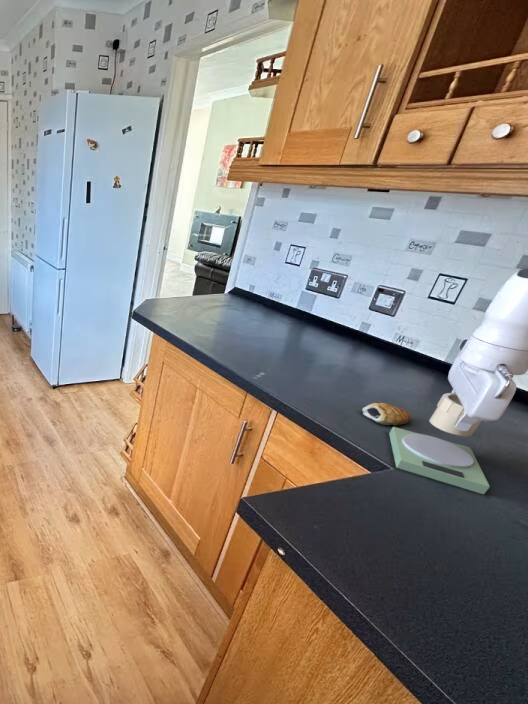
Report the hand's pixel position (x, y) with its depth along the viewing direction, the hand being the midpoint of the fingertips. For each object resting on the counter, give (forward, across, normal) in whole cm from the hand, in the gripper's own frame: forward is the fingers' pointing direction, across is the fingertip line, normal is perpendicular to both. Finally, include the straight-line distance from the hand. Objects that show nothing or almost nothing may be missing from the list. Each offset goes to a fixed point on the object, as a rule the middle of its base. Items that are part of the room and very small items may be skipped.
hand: (455, 419), depth 82 cm
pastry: (+10, +14, +7) cm, 18 cm away
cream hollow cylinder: (+2, 0, 0) cm, 2 cm away
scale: (+10, -1, 0) cm, 10 cm away
